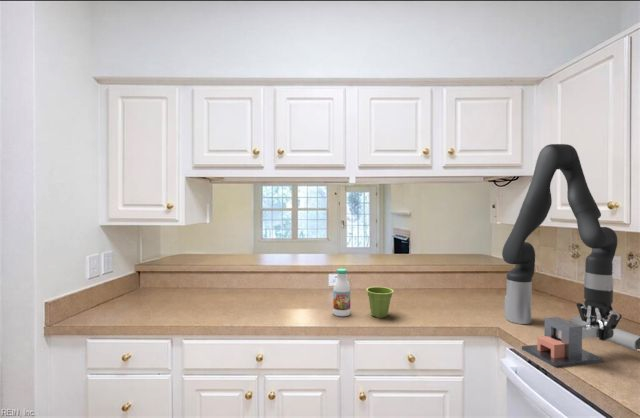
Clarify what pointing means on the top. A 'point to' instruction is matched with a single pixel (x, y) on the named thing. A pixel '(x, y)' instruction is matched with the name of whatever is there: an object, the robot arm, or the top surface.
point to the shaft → (589, 331)
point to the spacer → (551, 346)
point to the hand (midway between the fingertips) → (597, 337)
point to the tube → (617, 335)
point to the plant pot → (379, 300)
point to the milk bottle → (341, 294)
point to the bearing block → (572, 344)
